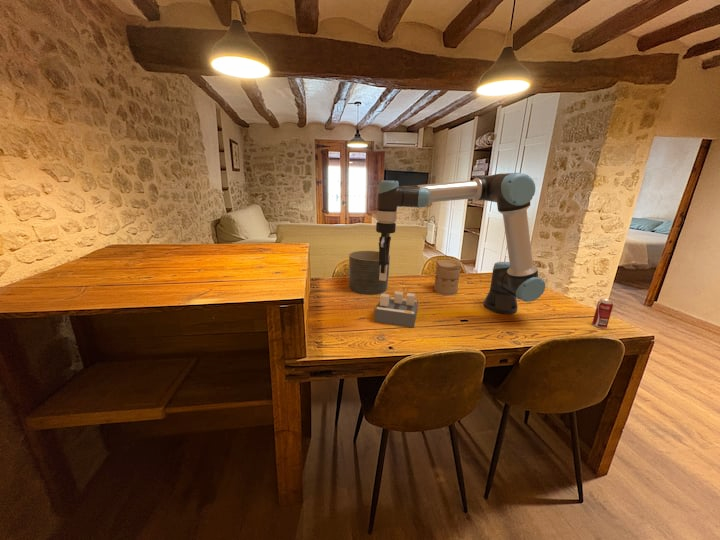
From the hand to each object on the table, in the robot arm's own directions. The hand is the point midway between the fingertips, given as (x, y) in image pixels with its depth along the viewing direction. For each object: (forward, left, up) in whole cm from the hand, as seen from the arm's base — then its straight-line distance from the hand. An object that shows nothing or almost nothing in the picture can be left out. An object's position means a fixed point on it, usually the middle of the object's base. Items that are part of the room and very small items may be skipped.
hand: (382, 279), depth 122 cm
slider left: (0, -7, -14) cm, 15 cm away
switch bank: (-6, -10, -20) cm, 23 cm away
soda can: (-93, -30, -20) cm, 100 cm away
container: (-27, -49, -20) cm, 59 cm away
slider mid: (-6, -12, -14) cm, 19 cm away
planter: (+15, -40, -20) cm, 47 cm away
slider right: (-11, -11, -14) cm, 21 cm away
